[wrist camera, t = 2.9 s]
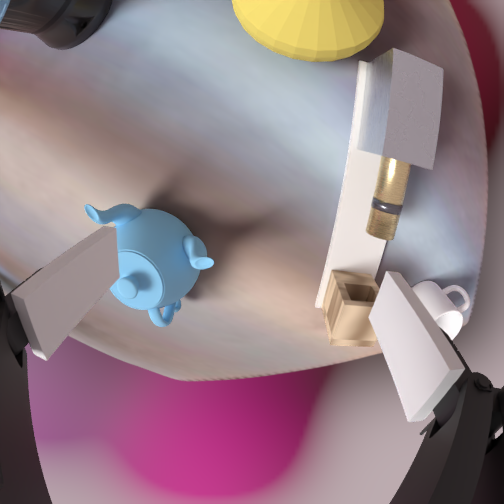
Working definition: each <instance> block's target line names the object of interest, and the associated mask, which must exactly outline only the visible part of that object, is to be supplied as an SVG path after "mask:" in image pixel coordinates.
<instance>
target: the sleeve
mask: <svg viewBox="0 0 504 504" xmlns="http://www.w3.org/2000/svg"><path fill="white" fill-rule="evenodd" d="M442 92H443V68H441V67H439V66H436V65H434V64H432V63H430V62H428V61H425V60H423V59H421V58H418V57H416V56H414V55H411V54H409V53H406V52H404V51H401V50H398V49H396V48H392V49H390V50H389V51H387V52H385V53H384V54H382V55H380V56H379V57H377V58H376V59H374V60H372V61H371V62H369V63H368V64H367V67H366V79H365V89H364V99H363V107H362V116H361V123H360V131H359V137H358V144H357V149H358V150H362V151H365V152H369V153H373V154H377V155H380V156H384V157H388V158H392V159H395V160H399V161H403V162H406V163H410V164H413V165H416V166H420V167H423V168H426V169H429V170H433V164H434V159H435V153H436V147H437V140H438V133H439V125H440V116H441V105H442Z"/></svg>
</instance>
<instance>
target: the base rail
mask: <svg viewBox="0 0 504 504" xmlns="http://www.w3.org/2000/svg"><path fill="white" fill-rule="evenodd" d="M367 64H368V62H364V61H359V64H358V75H357V86H356V95H355V104H354V112H353V120H352V128H351V135H350V142H349V148H348V155H347V161H346V167H345V173H344V178H343V184H342V189H341V195H340V200H339V205H338V210H337V215H336V220H335V224H334V229H333V234H332V238H331V243H330V247H329V251H328V255H327V260H326V264H325V268H324V272H323V276H322V280H321V284H320V288H319V291H318V295H317V299H316V303H315V307H317V308H322V307H321V306H322V303H323V299H324V296H325V292H326V289H327V285H328V281H329V278H330V274H331V270H339V271H347V272H356V273H364V274H371V275H372V277H373V279H375V276H376V273H377V270H378V267H379V264H380V261H381V258H382V254H383V251H384V248H385V244H386V241H387V240H382V239H379V238H376V237H373V236H371V235H369V234H368V233H367V232H366V226H367V222H368V218H369V214H370V209H371V203H372V199H373V196H374V191H375V186H376V181H377V176H378V171H379V165H380V159H381V156H380V155H377V154H373V153H369V152H365V151H362V150H358V149H357V144H358V137H359V131H360V123H361V116H362V107H363V99H364V89H365V79H366V67H367Z"/></svg>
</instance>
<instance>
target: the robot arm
mask: <svg viewBox="0 0 504 504" xmlns="http://www.w3.org/2000/svg"><path fill="white" fill-rule="evenodd" d="M111 2H112V0H0V29H5V30H13V31H19V32H26V33H31V34H35V35H36V36H37V37H38V38H39V39H41V40H42V41H43V42H44V43H45V44H46V45H48V46H49V47H51V48H56V49H61V50H64V49H69V48H72V47H74V46H76V45H78V44H80V43H81V42H83V41H84V40H85V39H87V38H88V37H89V36H90V35H91V34H92V33H93V32H94V31H95V30H96V29H97V28H98V26H99V25H100V24H101V22H102V21H103V20H104V18H105V16H106V14H107V13H108V10H109V8H110V5H111ZM119 278H120V274H119V263H118V249H117V230H116V228H113V227H106V226H103V227H102V228H100V229H99V230H97V231H96V232H94V233H92V234H91V235H89V236H88V237H86V238H85V239H83V240H82V241H80V242H79V243H77V244H76V245H75V246H73V247H72V248H70V249H69V250H67V251H66V252H64V253H63V254H62V255H60V256H59V257H57V258H56V259H55V260H53V261H52V262H51V263H49V264H48V265H46V266H45V267H43V268H41V269H39V270H38V271H36V272H35V273H34V274H32V276H30V277H29V278H27V279H26V281H23V282H22V283H21V284H20V285H18V286H17V287H16V288H15V289H13V290H12V291H11V292H10V293H9V294H7V295H6V296H4V292H3V289H2V286H1V282H0V504H52V502H51V499H50V496H49V493H48V489H47V487H46V483H45V480H44V477H43V472H42V469H41V465H40V461H39V456H38V453H37V448H36V442H35V437H34V431H33V425H32V419H31V412H30V411H31V410H30V402H29V391H28V376H27V353H26V350H25V348H24V347H25V346H26V345H27V344H28V343H29V344H30V347H31V349H32V351H33V353H34V354H35V355H37V356H39V357H41V358H42V359H44V360H46V361H47V360H48V359H49V358H50V356H51V355H52V354H53V353H54V351H55V350H56V349H57V348H58V346H59V345H60V344H61V343H62V342H63V340H64V339H65V338H66V337H67V336H68V334H69V333H70V332H71V331H72V330H73V329H74V327H75V326H76V325H77V324H78V323H79V322H80V320H81V319H82V318H83V317H84V316H85V315H86V314H87V312H88V311H89V310H90V309H91V308H92V307H93V306H94V305H95V304H96V302H97V301H98V300H99V299H100V298H101V297H102V296H103V295H104V294H105V293H106V292H107V290H108V289H109V288H110V287H111V286H112V285H113V284H114V283H115V282H116V281H117V280H118V279H119ZM368 318H369V320H370V322H371V325H372V327H373V329H374V332H375V334H376V336H377V339H378V341H379V344H380V346H381V349H382V351H383V354H384V356H385V359H386V361H387V364H388V366H389V369H390V372H391V374H392V377H393V380H394V383H395V385H396V388H397V391H398V394H399V397H400V399H401V402H402V405H403V408H404V411H405V414H406V417H407V420H408V422H415V421H422V420H424V419H425V418H426V417H427V416H428V415H429V414H430V413H431V412H432V411H434V414H435V418H434V419H433V420H432V421H431V422H430V423H429V424H428V425H427V426H426V427H425V428H424V429H423V430H422V432H421V433H420V435H422V434H423V433H424V432H426V431H427V432H426V435H425V437H424V440H423V442H422V444H421V446H420V448H419V451H418V453H417V455H416V457H415V459H414V461H413V463H412V465H411V467H410V469H409V471H408V473H407V475H406V477H405V478H404V480H403V482H402V484H401V485H400V487H399V489H398V491H397V492H396V494H395V496H394V497H393V499H392V501H391V502H390V504H504V386H503V387H502V388H501V389H499V388H494V387H493V385H492V383H491V381H490V380H489V379H488V378H487V377H486V376H484V375H483V374H480V373H478V372H473V373H472V372H471V370H470V369H469V367H468V365H467V364H466V362H465V360H464V359H463V357H462V355H461V354H460V352H459V351H457V348H456V346H455V344H453V341H452V340H451V338H450V337H449V335H448V334H447V333H446V332H445V331H444V330H442V329H441V328H440V327H439V326H438V325H437V323H436V322H435V320H434V319H433V317H432V316H431V315H430V313H429V312H428V310H427V309H426V308H425V306H424V305H423V303H422V302H421V301H420V299H419V298H418V296H417V295H416V294H415V292H414V291H413V290H412V288H411V287H410V286H409V284H408V283H407V282H406V280H405V279H404V278H403V277H402V275H401V274H400V273H398V272H392V271H386V273H385V276H384V279H383V282H382V284H381V287H380V290H379V292H378V295H377V297H376V300H375V303H374V305H373V307H372V310H371V312H370V315H369V317H368ZM502 426H503V433H502V434H501V435H500V436H499V437H498V438H496V439H495V433H496V432H497V431H498V430H499V429H500V428H501V427H502Z"/></svg>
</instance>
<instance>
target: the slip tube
mask: <svg viewBox="0 0 504 504" xmlns="http://www.w3.org/2000/svg"><path fill="white" fill-rule="evenodd" d="M410 168H411V164H410V163H406V162H403V161H399V160H395V159H392V158H388V157H384V156H381V159H380V165H379V171H378V176H377V181H376V186H375V191H374V196H373V199H372V203H371V209H370V214H369V218H368V222H367V226H366V232H367V233H368V234H369V235H371V236H373V237H376V238H379V239H382V240H393V239H394V236H395V232H396V228H397V225H398V221H399V217H400V214H401V211H402V207H403V201H404V197H405V192H406V188H407V183H408V178H409V173H410Z"/></svg>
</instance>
